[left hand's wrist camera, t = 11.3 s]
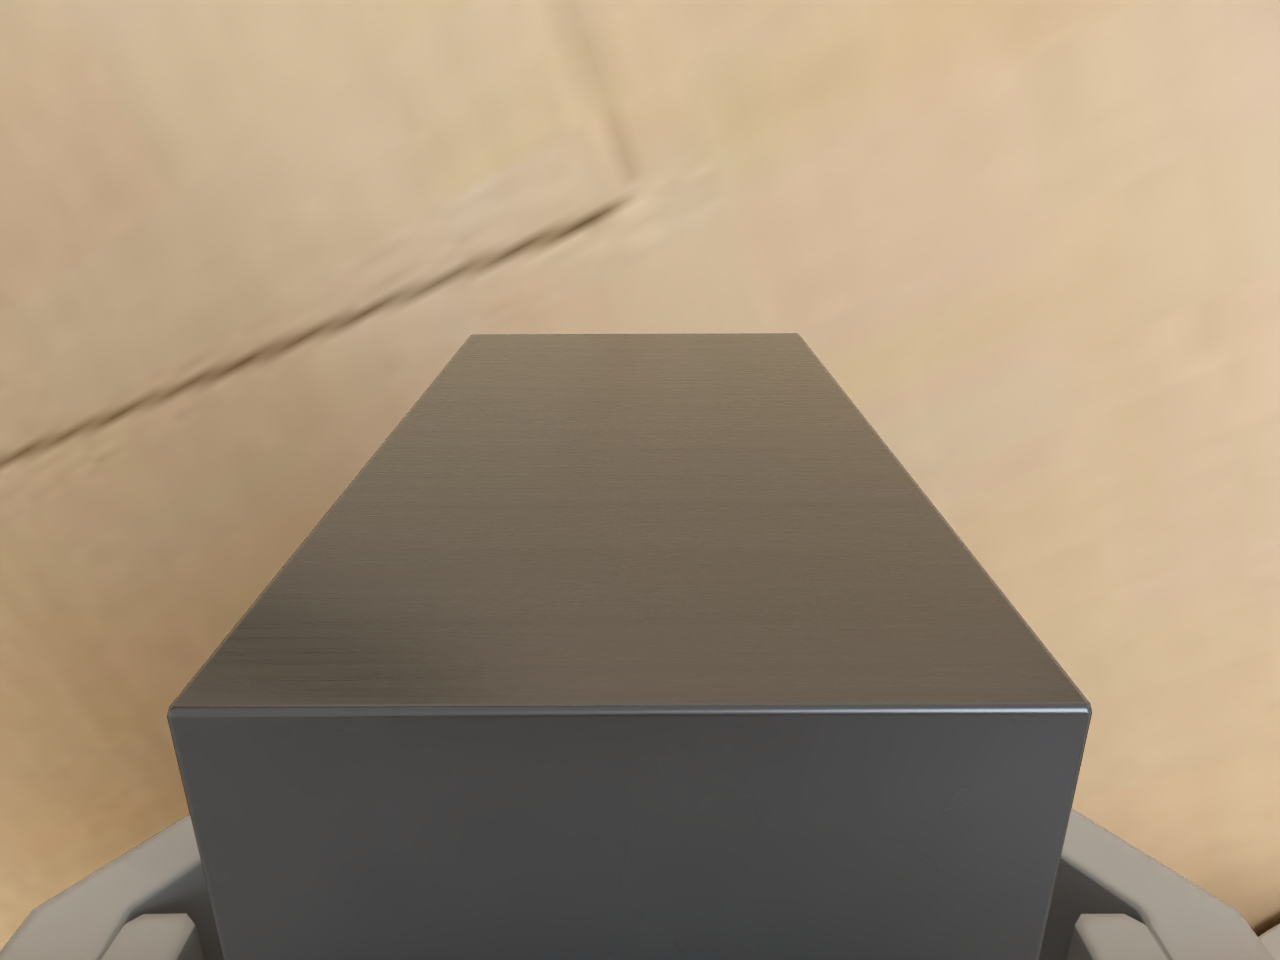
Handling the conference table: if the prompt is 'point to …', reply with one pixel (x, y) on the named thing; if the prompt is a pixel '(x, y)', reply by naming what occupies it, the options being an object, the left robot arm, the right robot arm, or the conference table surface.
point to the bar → (631, 686)
